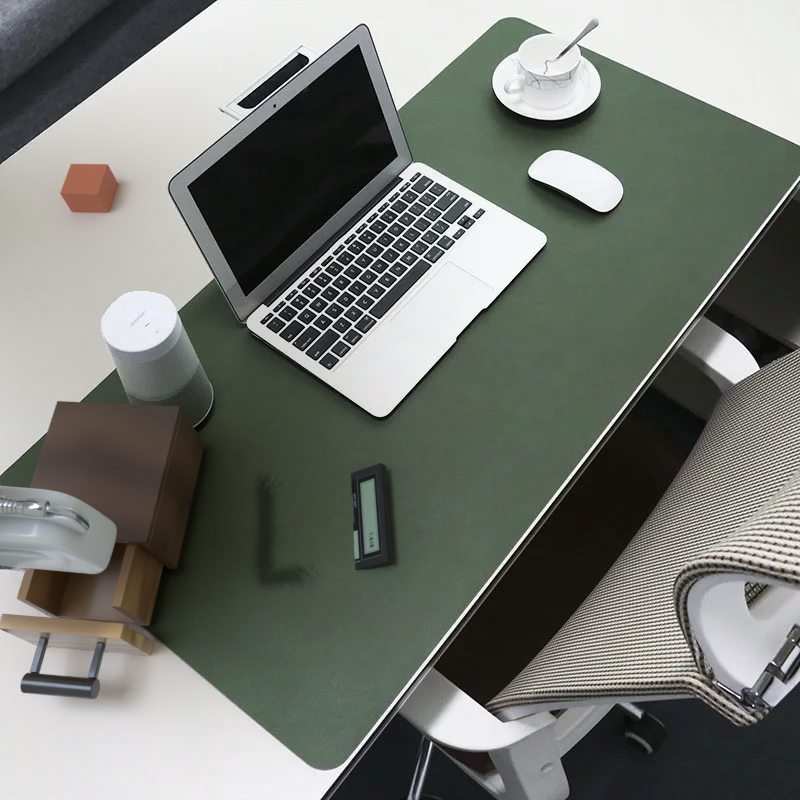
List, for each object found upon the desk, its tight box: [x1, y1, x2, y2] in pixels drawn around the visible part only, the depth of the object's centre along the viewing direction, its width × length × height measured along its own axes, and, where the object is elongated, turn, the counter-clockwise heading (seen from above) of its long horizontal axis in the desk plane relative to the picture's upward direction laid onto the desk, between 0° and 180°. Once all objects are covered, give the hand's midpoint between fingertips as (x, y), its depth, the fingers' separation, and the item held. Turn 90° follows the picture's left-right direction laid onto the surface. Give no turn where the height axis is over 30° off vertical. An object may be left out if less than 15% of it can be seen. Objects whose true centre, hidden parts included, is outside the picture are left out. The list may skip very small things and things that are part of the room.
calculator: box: [350, 462, 394, 571], centre depth 76 cm, size 9×12×3 cm
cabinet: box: [28, 400, 205, 570], centre depth 76 cm, size 13×12×9 cm
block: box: [59, 163, 119, 214], centre depth 97 cm, size 4×4×4 cm
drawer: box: [0, 542, 165, 700], centre depth 72 cm, size 16×10×7 cm, turn 174°
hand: (14, 559), depth 64 cm, fingers closed
